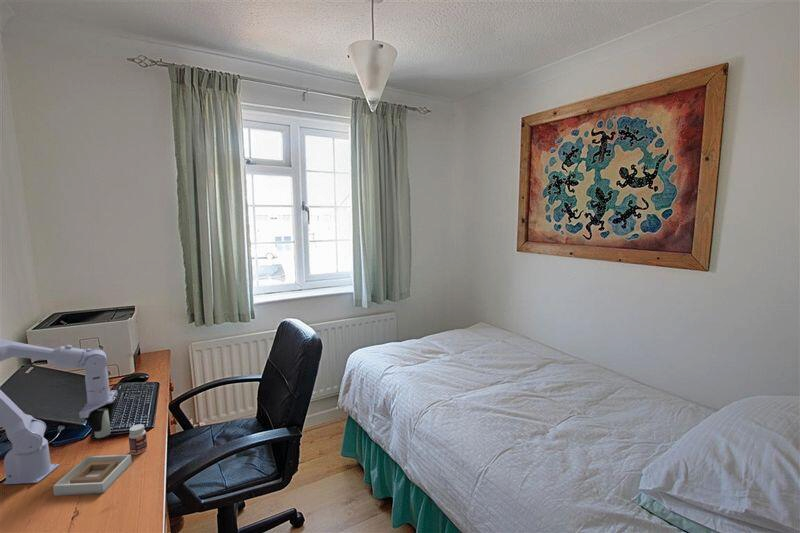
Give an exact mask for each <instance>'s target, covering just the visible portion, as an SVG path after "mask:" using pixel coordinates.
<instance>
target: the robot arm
mask: <svg viewBox="0 0 800 533" xmlns="http://www.w3.org/2000/svg"><path fill="white" fill-rule="evenodd" d="M11 358H23V359H33V360H45V361H49V362H50V363H51V364H52V365H53V366H60V367H68V368H74V369H75V368H76V369H83V370H84V373H85V376H84V382H85V383H84V384H85V390H86V400H87V402H86V403H85V405H84V407H83V408H82V409H81V410H80V411H79V412H78V414H79V419H84V420H85V421H86V422H87V423H88V425H89V426H90V428H91V430H92V432H93V433H95V432H100V431H101V429H102V416H103V413H104V411H99V410H98V409H102V408H107V409H108V412H109V422H110V424H111V422H112V418H113V414H114V413H113V412H114V410H115V406H116V405H117V403H118V400H117V399H114V397H118V389H114V390H112V389H111V390H110V382H109V371H108V367H107V365H108V360H107V354H106V352H105V351H104V350H103V349H99V348H86V349H84V348H78V347H73V345H71V344H66V346H65V345H60V346H58V347H56V348H51V347H45V346H41V345H33V344H28V343H24V342H19V341H13V340H9V339H5V338H0V362H2V361H6V360H8V359H11ZM0 427H1V428H3V429H4V431H5V434H6V436H7V437H6V438H7V439H8V440H9V442H11V445H12V448H11V449H9V450H8V451H7V453H6V455H5V456H4V459H3V467H4V474H5V481H4V482H3V485H18V484H37V483H38V484H39V483H40V482H41V481H42V480H43V479H44V478H46V477H47V476H48V475H49V474H50V473H53V471H54V470H55V469H57V468H58V467H59V466H60V463H52V462H51V457H50V448H49V441H48V439H46V438H45V437H44V436H45V432H46V430H47V425H46V423H45V422H44V421H42V420H40V419H36V418H35V417H33V416H32V415H30V414H26V413H25V412H23V410H22V409H21V408H20V407H19V406H17V404H16V403H14V402H13V401H12V400H11V398H10V397H9V396H8V395H7V394H5V392H3V391H2V389H0Z"/></svg>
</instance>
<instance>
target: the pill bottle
mask: <svg viewBox="0 0 800 533" xmlns="http://www.w3.org/2000/svg"><path fill="white" fill-rule="evenodd" d="M147 442H148V441H147V431H146V430H145V425H144V424H141V423H138V424H134V425H132V426H130V427H129V435H128V444H129V445H128V446H129V452H130V454H131V455H136V456H137V455H140V454H142V453H145V452H146V451H147V449H148V443H147Z"/></svg>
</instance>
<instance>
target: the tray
mask: <svg viewBox="0 0 800 533" xmlns="http://www.w3.org/2000/svg"><path fill="white" fill-rule="evenodd" d="M132 464H133V462H132V454H131V453H130V454H111V455H110V454H109V455H108V454H107V455H87V456H86V457H84V458H83V459H81V461H80V462H79V463H78V464H76V465H75V466H74V467H73V468H71V469H70V471H68V472H67V473H66V474H65V475H64V476H62V478H60V479H59V480H58V481H57V482H55V484H53V486H52V488H53V495H54V496H55V497H57V496H75V495H76V496H78V495H95V494H105V492H106V491H107V490H108V489H109V488H110V487H111V486H112V485H113V484H114V483H115V482H116V480H118V479H119V477H120V476H121V475H122V474H123V473H124V472H125V471H126V470H127V469H128V468H129V467H130V466H131V465H132Z"/></svg>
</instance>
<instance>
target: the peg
mask: <svg viewBox="0 0 800 533" xmlns="http://www.w3.org/2000/svg"><path fill="white" fill-rule="evenodd" d="M97 410H99V411H104V413H103V416H102V429H101V431H100V432H94V438H96V439H100V438H101V439H102V438H105V437H107V436H109V435H110V434H111V433H112V432H111V423H110V422H109V412H108V409H107V408H102V409H98V408H97Z"/></svg>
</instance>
